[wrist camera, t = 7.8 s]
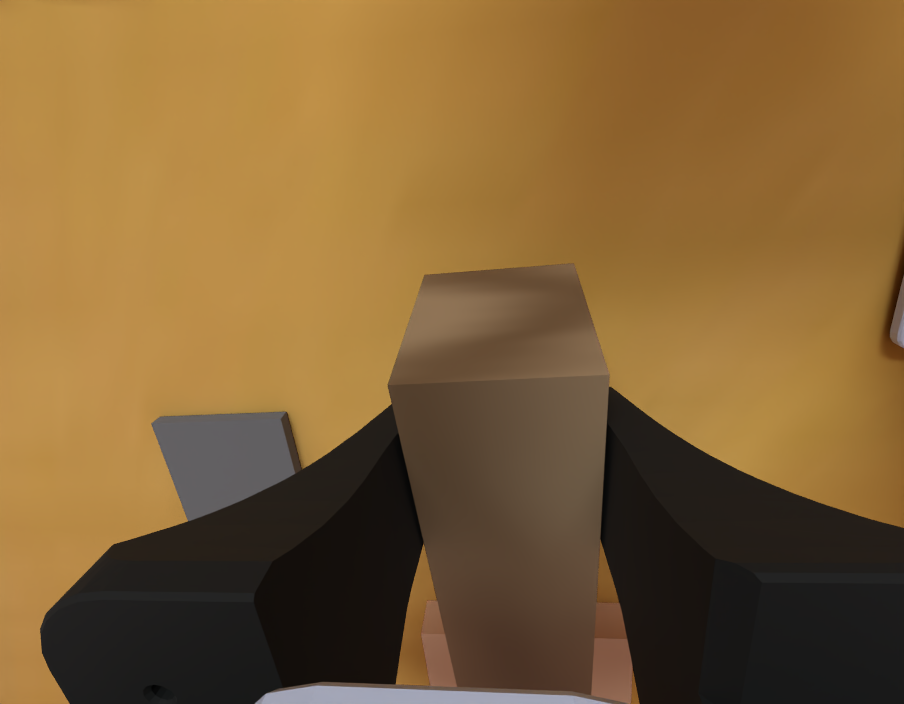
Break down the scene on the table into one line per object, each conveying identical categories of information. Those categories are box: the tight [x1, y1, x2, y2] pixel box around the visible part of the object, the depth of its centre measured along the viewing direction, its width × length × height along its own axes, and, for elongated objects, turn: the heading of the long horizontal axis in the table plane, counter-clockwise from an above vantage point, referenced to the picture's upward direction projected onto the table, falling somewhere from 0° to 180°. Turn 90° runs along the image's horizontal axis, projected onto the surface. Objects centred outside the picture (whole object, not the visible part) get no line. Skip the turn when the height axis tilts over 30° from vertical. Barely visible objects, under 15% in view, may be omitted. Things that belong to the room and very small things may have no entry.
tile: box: [421, 600, 633, 704], centre depth 21 cm, size 8×2×7 cm
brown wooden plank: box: [388, 263, 609, 695], centre depth 13 cm, size 4×12×4 cm, turn 6°
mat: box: [151, 412, 301, 521], centre depth 20 cm, size 5×13×1 cm, turn 6°
